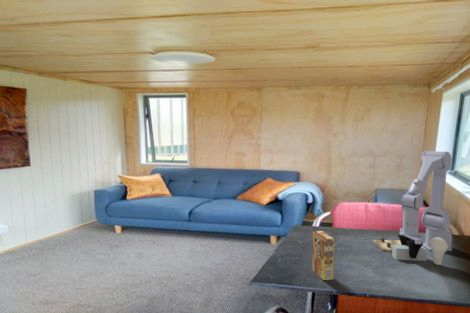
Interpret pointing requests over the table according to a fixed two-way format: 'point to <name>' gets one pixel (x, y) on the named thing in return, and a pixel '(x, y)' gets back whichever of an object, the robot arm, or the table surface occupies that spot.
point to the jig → (386, 244)
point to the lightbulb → (438, 249)
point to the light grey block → (403, 253)
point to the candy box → (323, 255)
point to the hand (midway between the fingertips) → (409, 254)
